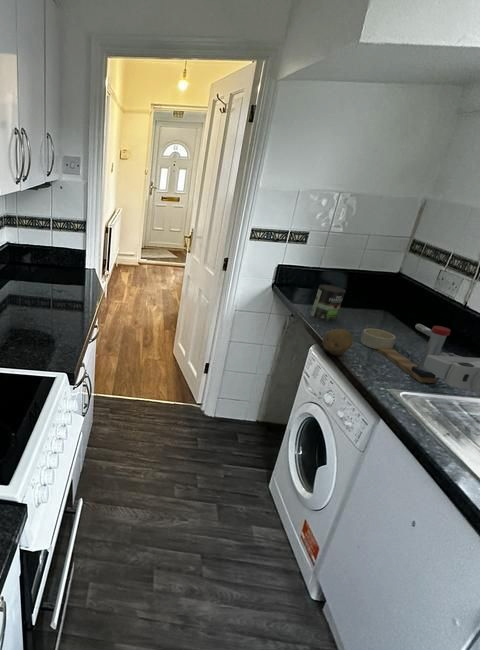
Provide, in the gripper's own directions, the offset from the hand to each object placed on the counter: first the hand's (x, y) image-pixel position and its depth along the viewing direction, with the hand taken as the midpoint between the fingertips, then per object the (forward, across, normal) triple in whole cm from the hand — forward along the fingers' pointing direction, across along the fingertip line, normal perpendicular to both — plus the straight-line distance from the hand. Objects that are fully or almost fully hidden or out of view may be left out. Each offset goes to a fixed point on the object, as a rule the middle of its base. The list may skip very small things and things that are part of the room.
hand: (445, 354), depth 125 cm
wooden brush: (+13, 0, +11) cm, 17 cm away
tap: (+9, 0, +9) cm, 13 cm away
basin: (+30, 0, +11) cm, 32 cm away
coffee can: (+57, +7, +11) cm, 59 cm away
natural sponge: (+19, +22, +11) cm, 31 cm away
